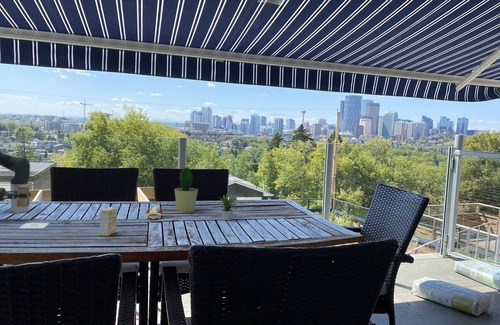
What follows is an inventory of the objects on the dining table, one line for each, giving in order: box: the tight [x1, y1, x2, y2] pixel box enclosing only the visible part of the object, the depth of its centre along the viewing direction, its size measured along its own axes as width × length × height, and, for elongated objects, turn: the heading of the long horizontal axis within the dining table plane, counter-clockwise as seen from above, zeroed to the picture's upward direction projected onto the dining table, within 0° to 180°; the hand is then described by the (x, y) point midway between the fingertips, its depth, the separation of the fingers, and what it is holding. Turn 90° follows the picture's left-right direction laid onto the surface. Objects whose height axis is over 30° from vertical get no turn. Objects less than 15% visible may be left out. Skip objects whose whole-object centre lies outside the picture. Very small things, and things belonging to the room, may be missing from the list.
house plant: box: [217, 193, 239, 221], centre depth 236 cm, size 14×14×16 cm
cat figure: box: [145, 200, 164, 220], centre depth 241 cm, size 10×9×25 cm
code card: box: [18, 222, 50, 229], centre depth 205 cm, size 11×12×1 cm
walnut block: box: [17, 185, 30, 207], centre depth 213 cm, size 5×5×11 cm
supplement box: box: [99, 206, 118, 237], centre depth 195 cm, size 8×5×13 cm, turn 168°
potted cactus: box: [174, 166, 199, 213], centre depth 257 cm, size 15×15×30 cm
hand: (28, 195), depth 213 cm, fingers closed on walnut block, 4 cm apart
